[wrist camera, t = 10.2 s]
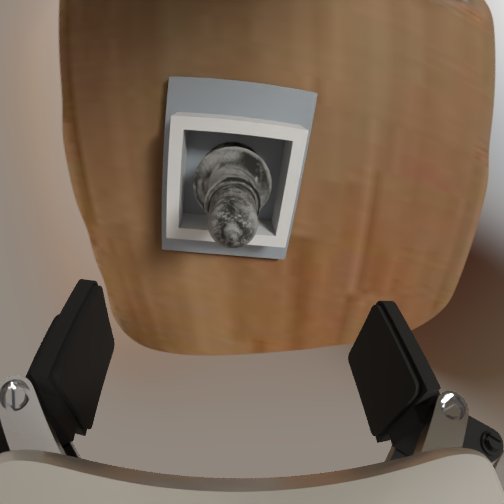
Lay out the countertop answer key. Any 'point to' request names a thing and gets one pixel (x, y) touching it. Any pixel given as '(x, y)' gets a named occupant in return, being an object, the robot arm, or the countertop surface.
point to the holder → (233, 130)
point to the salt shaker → (232, 192)
